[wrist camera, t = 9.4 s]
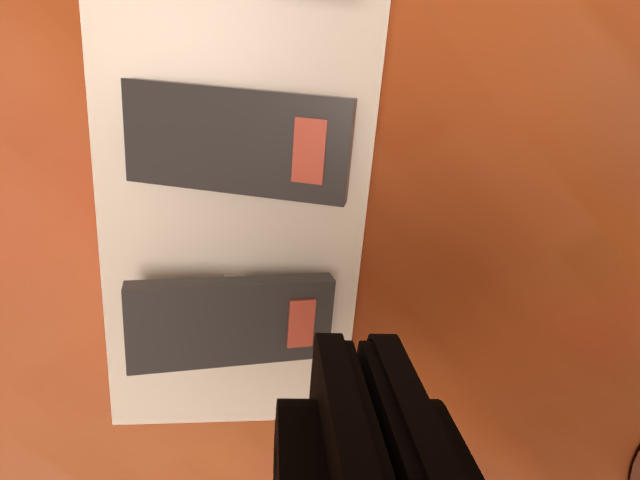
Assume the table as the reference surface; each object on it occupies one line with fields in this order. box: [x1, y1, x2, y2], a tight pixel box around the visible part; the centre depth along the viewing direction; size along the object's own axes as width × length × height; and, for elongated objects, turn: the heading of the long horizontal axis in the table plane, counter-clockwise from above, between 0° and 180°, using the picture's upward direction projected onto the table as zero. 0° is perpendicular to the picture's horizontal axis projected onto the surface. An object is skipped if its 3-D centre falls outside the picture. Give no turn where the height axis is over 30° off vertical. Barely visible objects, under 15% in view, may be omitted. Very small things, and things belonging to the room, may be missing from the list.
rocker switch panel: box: [79, 0, 391, 425], centre depth 21 cm, size 12×30×4 cm, turn 175°
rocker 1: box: [121, 78, 357, 207], centre depth 19 cm, size 9×4×1 cm, turn 86°
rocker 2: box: [121, 272, 336, 376], centre depth 21 cm, size 9×4×1 cm, turn 85°
